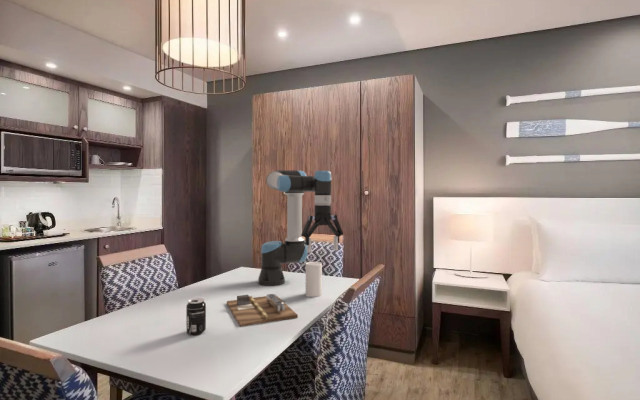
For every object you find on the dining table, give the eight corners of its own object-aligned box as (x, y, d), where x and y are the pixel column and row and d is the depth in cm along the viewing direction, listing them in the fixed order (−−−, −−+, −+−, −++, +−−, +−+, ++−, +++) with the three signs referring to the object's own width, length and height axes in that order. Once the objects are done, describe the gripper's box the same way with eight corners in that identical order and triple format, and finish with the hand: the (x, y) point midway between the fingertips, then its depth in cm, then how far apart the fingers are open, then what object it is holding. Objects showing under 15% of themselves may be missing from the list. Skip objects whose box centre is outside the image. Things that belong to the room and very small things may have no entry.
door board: (226, 303, 163) (226, 292, 163) (276, 297, 173) (276, 287, 173) (239, 326, 136) (239, 313, 136) (297, 317, 146) (297, 305, 146)
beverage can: (190, 328, 134) (190, 297, 133) (208, 328, 133) (208, 297, 133) (183, 336, 127) (183, 303, 126) (201, 336, 127) (201, 303, 126)
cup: (322, 292, 182) (322, 261, 181) (320, 297, 174) (321, 265, 173) (306, 291, 183) (306, 261, 182) (304, 296, 174) (304, 264, 174)
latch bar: (265, 299, 161) (265, 293, 161) (274, 298, 162) (274, 292, 162) (276, 311, 145) (276, 304, 145) (286, 310, 147) (286, 303, 147)
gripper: (300, 205, 150) (300, 254, 150) (350, 204, 161) (350, 250, 161) (294, 204, 156) (294, 251, 157) (342, 204, 167) (342, 248, 168)
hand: (322, 251), depth 159 cm, fingers open, 13 cm apart
